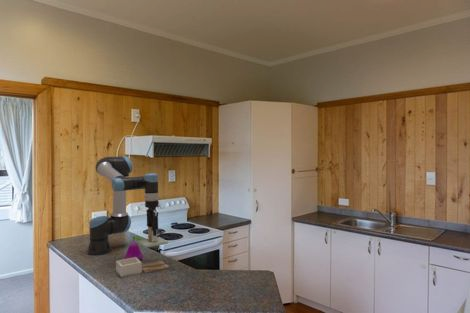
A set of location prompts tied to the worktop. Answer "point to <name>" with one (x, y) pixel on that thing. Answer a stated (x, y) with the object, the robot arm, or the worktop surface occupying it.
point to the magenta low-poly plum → (134, 250)
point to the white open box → (128, 267)
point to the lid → (149, 242)
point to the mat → (154, 266)
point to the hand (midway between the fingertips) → (152, 240)
